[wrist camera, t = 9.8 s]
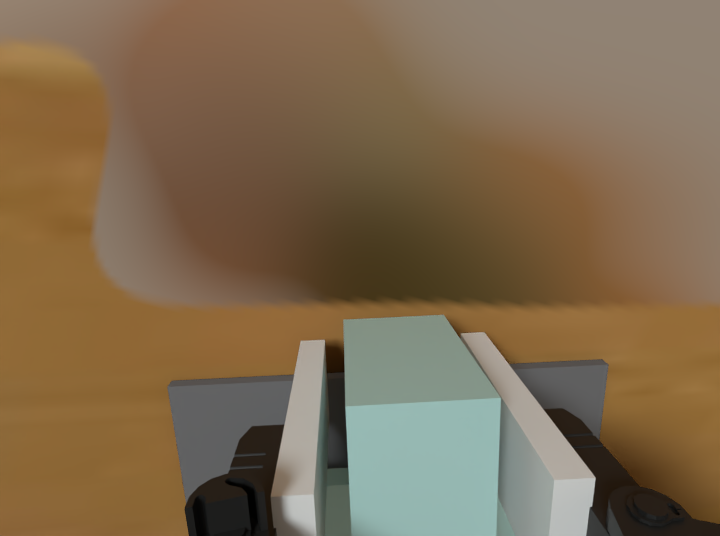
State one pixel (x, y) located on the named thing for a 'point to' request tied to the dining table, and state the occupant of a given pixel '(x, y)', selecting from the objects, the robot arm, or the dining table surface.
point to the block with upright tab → (416, 435)
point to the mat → (335, 411)
